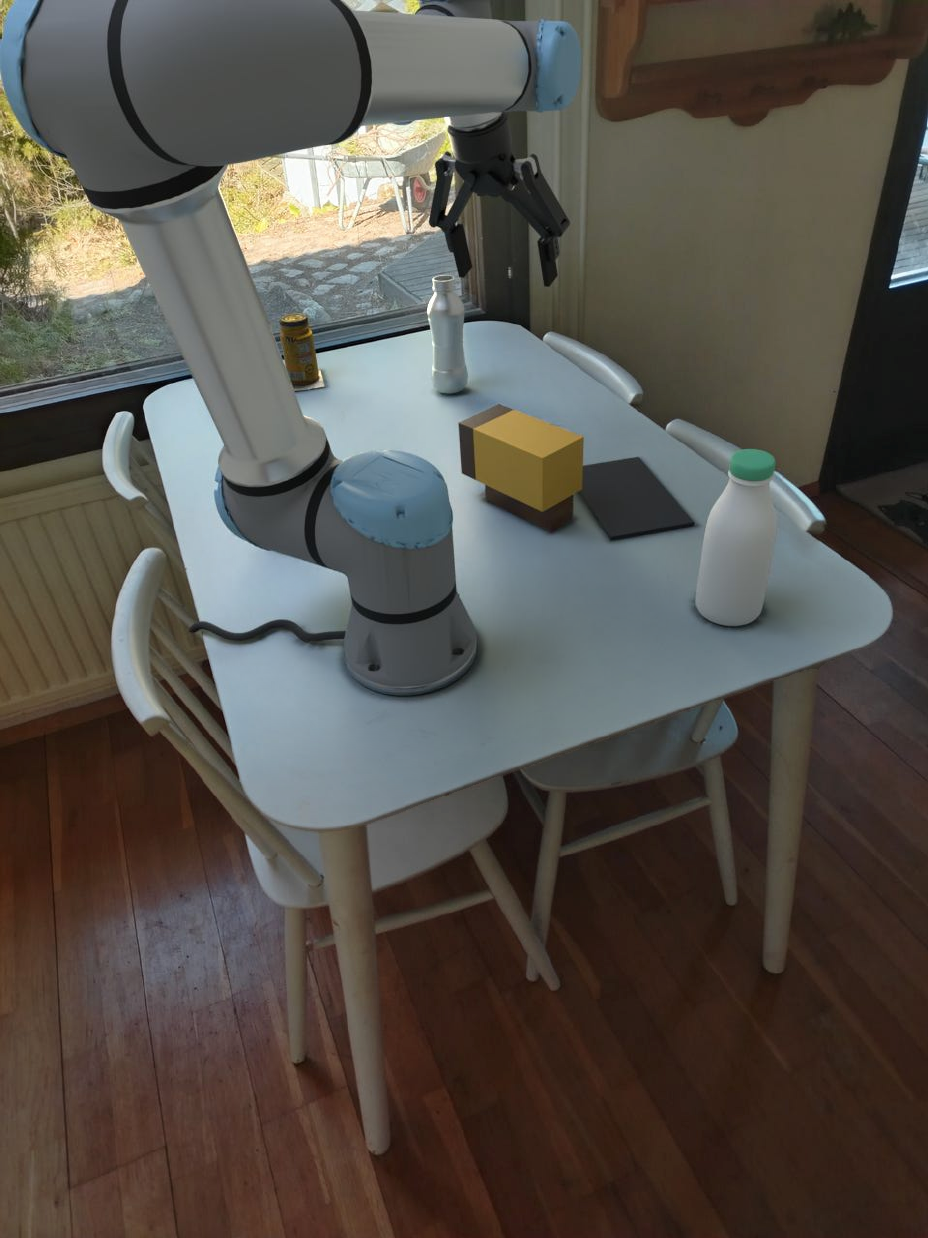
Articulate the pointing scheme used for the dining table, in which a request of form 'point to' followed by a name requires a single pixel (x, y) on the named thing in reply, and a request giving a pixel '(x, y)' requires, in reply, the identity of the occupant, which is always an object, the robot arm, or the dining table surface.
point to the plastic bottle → (447, 336)
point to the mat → (630, 499)
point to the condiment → (299, 352)
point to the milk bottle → (739, 543)
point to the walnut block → (534, 510)
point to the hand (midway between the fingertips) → (507, 276)
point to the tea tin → (521, 456)
